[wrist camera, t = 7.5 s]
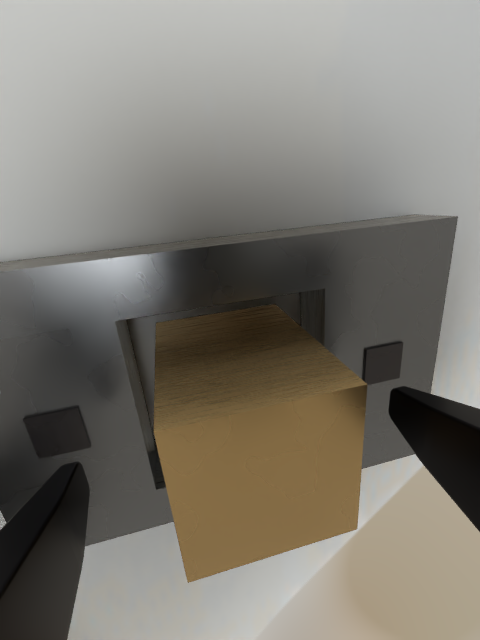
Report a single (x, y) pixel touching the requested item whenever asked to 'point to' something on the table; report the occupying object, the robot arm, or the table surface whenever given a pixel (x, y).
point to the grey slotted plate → (190, 293)
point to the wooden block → (254, 437)
